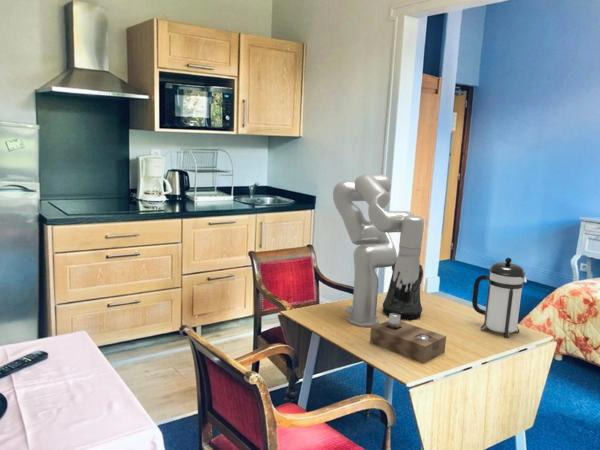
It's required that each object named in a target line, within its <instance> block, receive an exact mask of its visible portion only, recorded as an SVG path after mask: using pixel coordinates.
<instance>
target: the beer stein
mask: <svg viewBox="0 0 600 450" xmlns="http://www.w3.org/2000/svg"><path fill="white" fill-rule="evenodd" d="M422 266H423V265H421V264H420V267H419V276H418V279H417V280H416V281H415V283H414V284H413V285H412V288H411V291H410V298H409V302H407V303H405V302H402V301H400V300H399V295H400V290H399V288H398V287H396V285H397V282H394V281H393V274H394V268H395V264H394V265H393V266H391V270H392V272H391V273H392V274H391V277H390V282H389V285H388V290H387V292H386V295H385V298H384V301H383V303H382V310H383V311H382V312H383V314H384V315H385V316H387V317H388V318H389V314H390V313H397V314H400V315H401V316H400V321H414V320H418V319H419V318H421V314H422V312H423V307H422V303H421V284H422V283H423V277H424V270H423V267H422Z"/></svg>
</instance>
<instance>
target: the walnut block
mask: <svg viewBox="0 0 600 450" xmlns="http://www.w3.org/2000/svg"><path fill="white" fill-rule="evenodd" d="M388 324H389V320H386V321H384V322H382V323H379V324H378V325H376V326H371V327H370V338H369V343H370V345H373V346H377V347H379V348H382V349H385V350H387V351H390V352H392V353H395V354H397V355H400V356H403V357H405V358H408V359H411V360H413V361H416V362H419V363H421V364H423V365H424V364H426V363H427V362H429V361H431V360H433V359H435V358H436V357H439V356H441V355H442V354H444V353H445V352H446V342H447V341H446V340H447V335H443V334H441V333H439V332H436V331H435V332H434V331H431V330H429V329H426V328H423V327H421V326H417V325H413V324H411V323H407V322H404V321H403V320H400V327H399V329H397V330H394V329H391V328H388ZM417 335H427V336H428V337H429V339H428V340H423V339H420V338H417Z"/></svg>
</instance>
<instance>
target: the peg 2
mask: <svg viewBox="0 0 600 450" xmlns="http://www.w3.org/2000/svg"><path fill="white" fill-rule="evenodd" d="M417 338H420V339H423V340H428V339H429V337H428V336H427V335H417Z"/></svg>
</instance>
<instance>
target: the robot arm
mask: <svg viewBox="0 0 600 450" xmlns="http://www.w3.org/2000/svg"><path fill="white" fill-rule="evenodd" d="M391 188H392V184H391V180H390V178H389V177H388V176H387V175H385V174H380V173H379V174H376V173H375V174H374V173H372V174H370V173H369V174H368V173H366V174H361V175H359V176H358V177H356V178H355V180H343V181H340V182H338V183H336V184H335V185H334V188H333V191H332V197H333V203H334V206H335V209H336V210H337V212H338V213H339V215H340V217H341V219H342V220H343V224H344V227H345V229H346V231H347V235H348V237H349V239H350V241H351V242H352V244H353V245H354V246H355V245H356V248H355V249H354V251H353V263H354V278H353V279H354V282H353V298H352V306H351V305H347V306H346V308H345V312H347V313H349V315H348V317H347V321H348V322H349V323H350V324H352V325H354V326H359V327H365V328H366V327H369V328H371V327H373V326H376V325H378V324H380V318H378V317H377V307H378V306H377V305H378V293H379V277H378V274H377V273H376V271H375V269H381V268H391V267H392V266H393V265H394V264H395V268H394V274H393V281H394V282H397V285H396V287H398V288H399V290H400V295H399V300H400V301H402V302H405V303H407V302H409V298H410V291H411V288H412V285H413V284H414V283H415V281H416V280H417V279H418V276H419V267H420V265H421V263H420V262H421V260H420V259H421V251H422V245H423V236H424V235H423V234H424V228H425V227H424V226H425V220H424V218H423V217H422V216H418V215H415V214H414V213H412V212H410V211H408V210H407V211H406V210H402V211H401V210H395V211H394V210H391V211H390V210H388V211H385V210H384V209H385V208H386V207H387V206H388V204H389V202H390V199H391V196H390V192H391ZM354 202H365V203H367V205H368V208H367V213H368V218H369V220H366V218H365V216H364V213H363V211H362V210H361V209H360V208H359V207H358V206H357V204H355V203H354ZM390 233H400V234H399V235H400V236H399V242H398V243H399V244H398V253H397V250H396V247H395V245H394V242H393V240H392V237H391V235H390ZM397 254H398V255H397Z"/></svg>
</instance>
